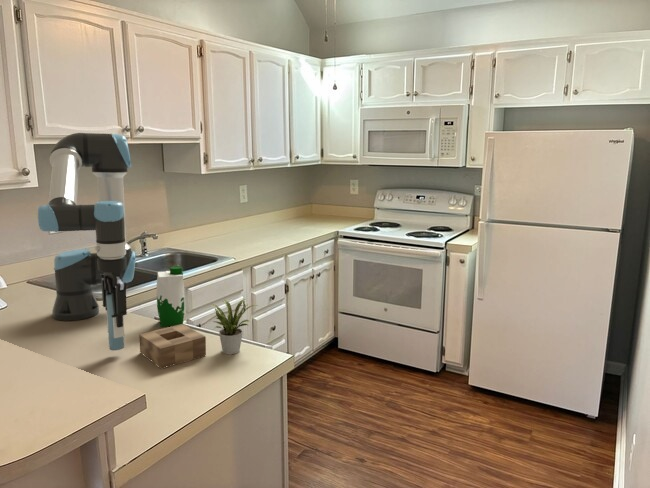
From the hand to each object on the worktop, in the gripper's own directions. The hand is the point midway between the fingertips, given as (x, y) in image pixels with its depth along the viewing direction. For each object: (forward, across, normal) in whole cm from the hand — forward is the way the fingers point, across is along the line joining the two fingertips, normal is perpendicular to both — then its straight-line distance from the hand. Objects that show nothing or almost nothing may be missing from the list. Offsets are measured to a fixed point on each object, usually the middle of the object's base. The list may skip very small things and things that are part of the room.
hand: (116, 334), depth 143 cm
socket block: (+7, +10, +13) cm, 17 cm away
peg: (+4, 0, 0) cm, 4 cm away
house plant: (+7, +19, +29) cm, 35 cm away
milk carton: (+7, -15, +25) cm, 30 cm away
